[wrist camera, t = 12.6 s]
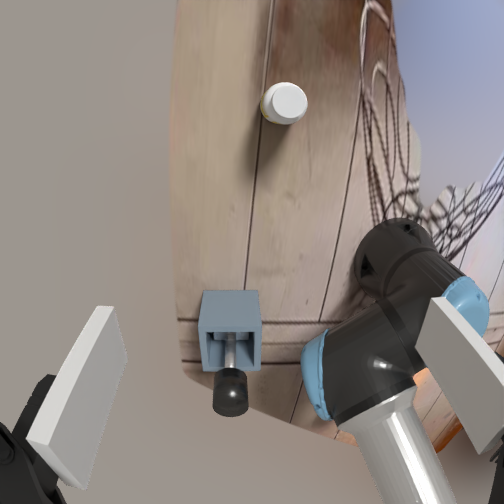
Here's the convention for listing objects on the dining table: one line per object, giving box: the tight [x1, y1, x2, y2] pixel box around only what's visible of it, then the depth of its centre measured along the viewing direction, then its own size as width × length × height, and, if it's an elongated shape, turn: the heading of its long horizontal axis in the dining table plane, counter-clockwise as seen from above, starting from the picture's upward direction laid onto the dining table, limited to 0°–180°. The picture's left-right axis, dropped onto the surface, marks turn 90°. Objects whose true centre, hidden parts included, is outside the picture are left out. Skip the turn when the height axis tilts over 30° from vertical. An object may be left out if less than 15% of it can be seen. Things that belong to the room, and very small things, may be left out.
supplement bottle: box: [260, 82, 307, 124], centre depth 38 cm, size 5×5×10 cm
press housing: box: [198, 290, 262, 371], centre depth 51 cm, size 9×9×10 cm
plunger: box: [213, 332, 249, 417], centre depth 44 cm, size 6×6×18 cm
